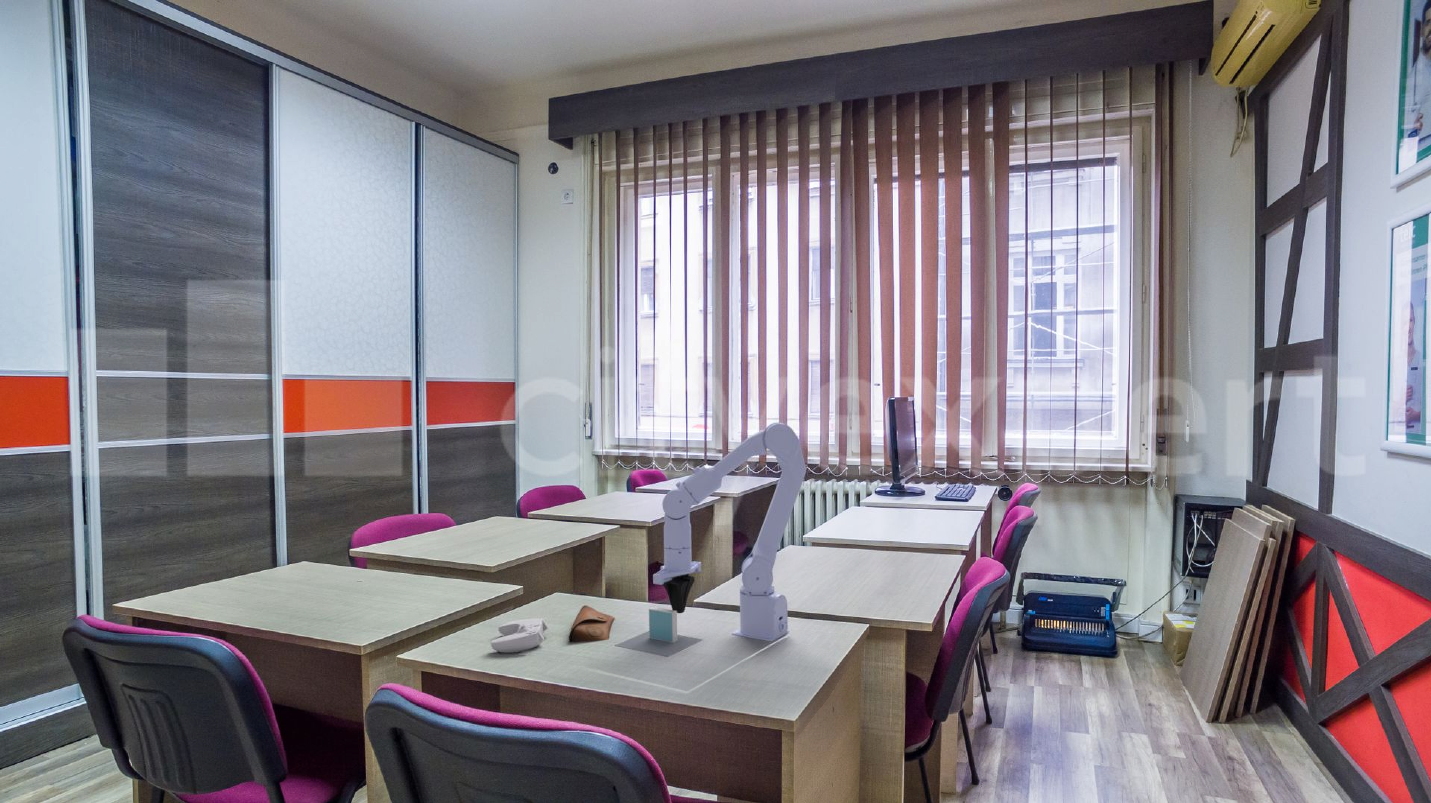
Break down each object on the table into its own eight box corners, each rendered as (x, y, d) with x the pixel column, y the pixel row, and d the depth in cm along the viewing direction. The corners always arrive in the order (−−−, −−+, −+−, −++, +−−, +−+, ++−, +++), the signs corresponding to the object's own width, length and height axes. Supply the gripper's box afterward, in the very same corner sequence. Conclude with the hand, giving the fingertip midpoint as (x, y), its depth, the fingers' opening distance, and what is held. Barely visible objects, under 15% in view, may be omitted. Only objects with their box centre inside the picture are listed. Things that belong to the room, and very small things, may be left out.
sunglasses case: (611, 642, 154) (594, 614, 154) (581, 661, 154) (563, 633, 154) (616, 617, 172) (600, 592, 172) (589, 634, 172) (573, 609, 172)
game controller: (498, 619, 162) (545, 607, 163) (503, 640, 162) (550, 627, 163) (487, 640, 147) (538, 627, 149) (492, 662, 148) (544, 649, 149)
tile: (677, 640, 154) (676, 610, 154) (672, 642, 153) (672, 612, 153) (653, 636, 157) (653, 606, 157) (648, 638, 156) (648, 608, 156)
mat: (703, 641, 155) (702, 639, 155) (667, 658, 145) (667, 656, 145) (651, 631, 162) (651, 629, 162) (614, 647, 152) (614, 645, 152)
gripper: (682, 539, 168) (682, 601, 168) (640, 550, 156) (641, 617, 156) (709, 542, 164) (709, 605, 164) (668, 554, 152) (669, 622, 152)
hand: (678, 612), depth 160 cm, fingers closed
